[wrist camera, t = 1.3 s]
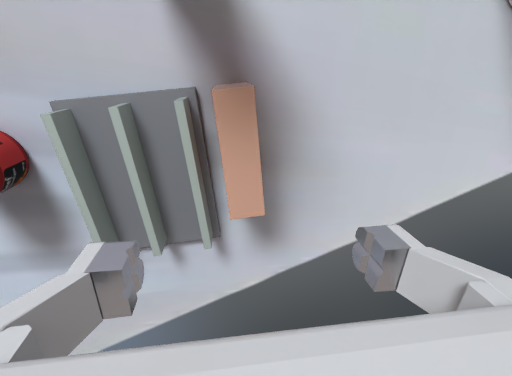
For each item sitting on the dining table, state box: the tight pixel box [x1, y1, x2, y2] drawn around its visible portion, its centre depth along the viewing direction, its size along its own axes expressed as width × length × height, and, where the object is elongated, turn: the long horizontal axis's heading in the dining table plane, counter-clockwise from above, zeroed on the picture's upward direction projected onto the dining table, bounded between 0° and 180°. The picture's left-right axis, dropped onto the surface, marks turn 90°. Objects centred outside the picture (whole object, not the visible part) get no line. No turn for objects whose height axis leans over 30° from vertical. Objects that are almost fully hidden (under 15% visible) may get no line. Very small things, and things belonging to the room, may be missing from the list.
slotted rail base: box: [40, 87, 220, 256], centre depth 35 cm, size 17×22×5 cm
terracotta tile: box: [211, 82, 265, 220], centre depth 32 cm, size 4×14×10 cm, turn 5°
